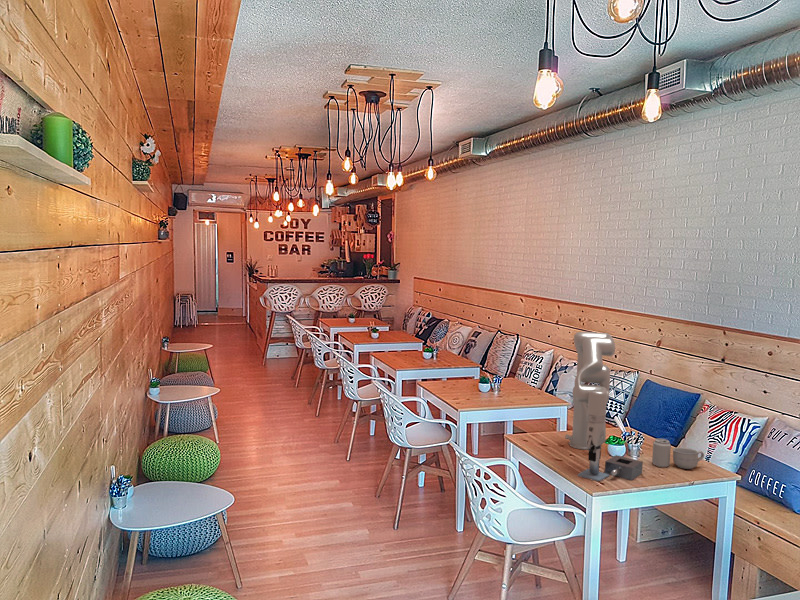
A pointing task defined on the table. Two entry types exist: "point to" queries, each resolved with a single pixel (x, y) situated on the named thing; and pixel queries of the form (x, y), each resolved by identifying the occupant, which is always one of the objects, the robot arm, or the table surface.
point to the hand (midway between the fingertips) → (594, 459)
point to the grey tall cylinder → (595, 465)
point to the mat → (593, 475)
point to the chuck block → (623, 467)
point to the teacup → (686, 457)
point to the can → (661, 453)
